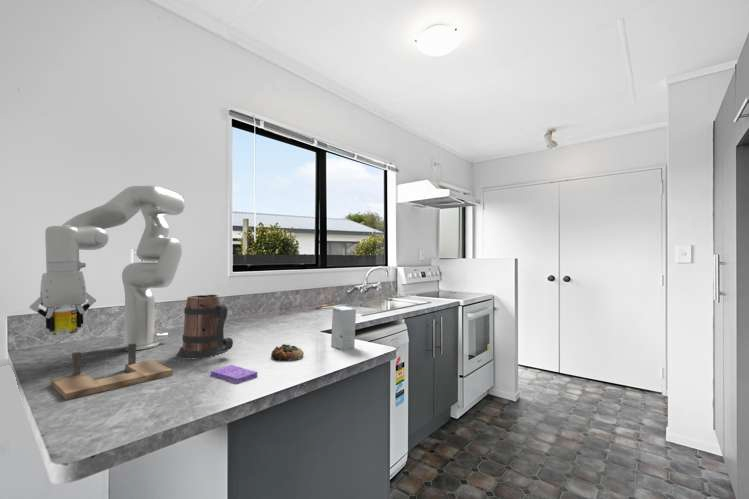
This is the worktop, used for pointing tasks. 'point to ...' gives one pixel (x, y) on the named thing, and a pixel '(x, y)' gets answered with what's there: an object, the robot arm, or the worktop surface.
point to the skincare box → (343, 327)
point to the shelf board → (85, 385)
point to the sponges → (234, 373)
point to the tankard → (204, 328)
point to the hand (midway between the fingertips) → (65, 328)
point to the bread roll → (286, 353)
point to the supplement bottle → (65, 321)
